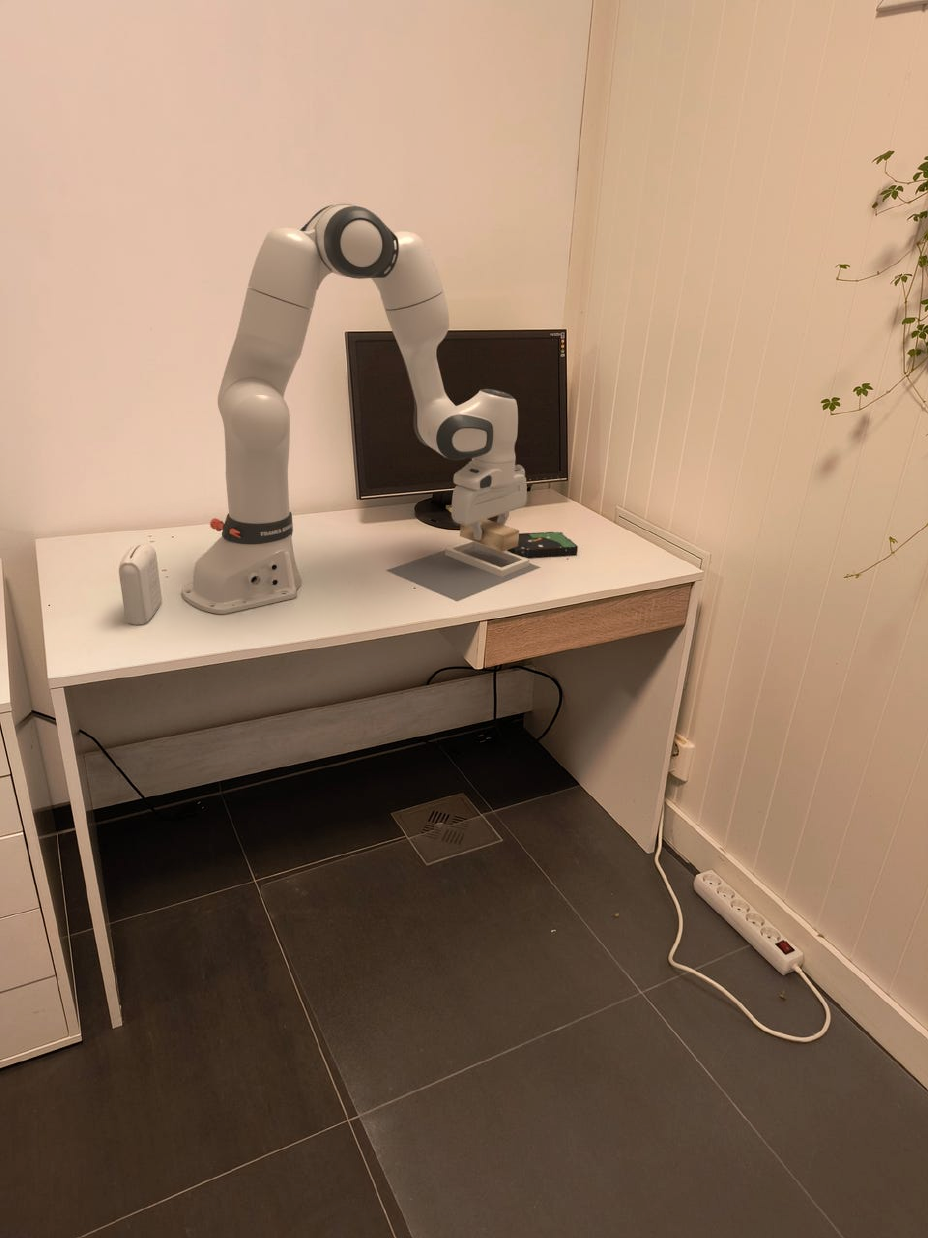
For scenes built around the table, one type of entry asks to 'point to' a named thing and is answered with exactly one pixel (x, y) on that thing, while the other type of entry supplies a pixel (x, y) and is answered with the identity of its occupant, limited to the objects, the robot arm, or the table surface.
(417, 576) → the mat
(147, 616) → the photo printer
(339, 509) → the table surface
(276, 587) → the robot arm
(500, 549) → the tan wooden block
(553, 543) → the disk drive
